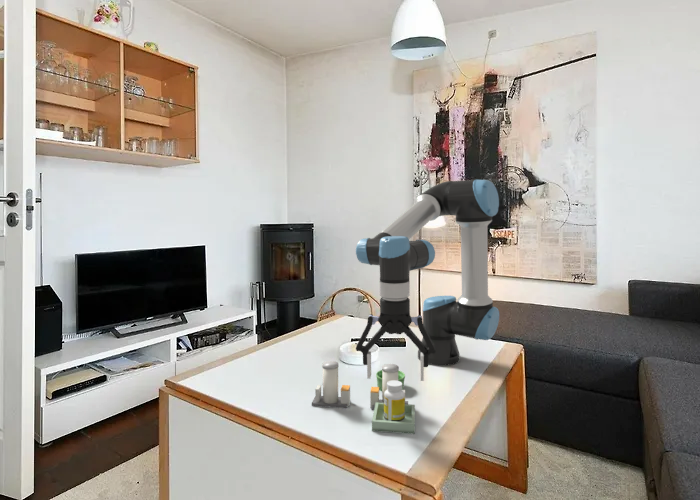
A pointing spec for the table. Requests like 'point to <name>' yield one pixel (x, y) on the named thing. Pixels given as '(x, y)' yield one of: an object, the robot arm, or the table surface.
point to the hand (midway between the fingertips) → (395, 377)
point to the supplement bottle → (394, 402)
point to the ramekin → (379, 378)
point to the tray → (393, 426)
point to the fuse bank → (331, 387)
